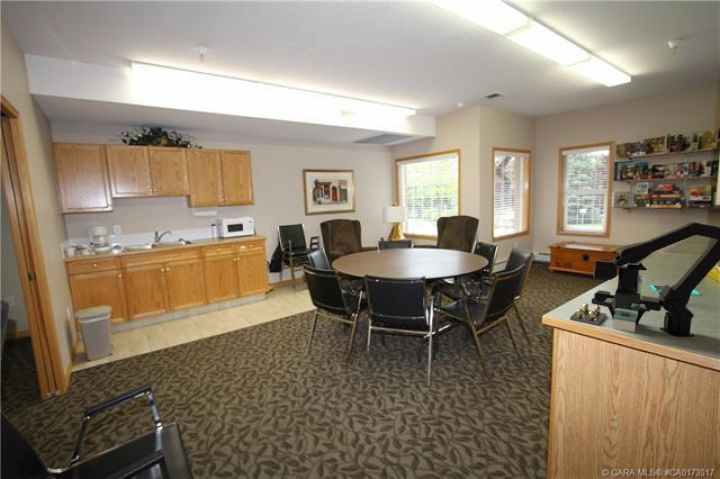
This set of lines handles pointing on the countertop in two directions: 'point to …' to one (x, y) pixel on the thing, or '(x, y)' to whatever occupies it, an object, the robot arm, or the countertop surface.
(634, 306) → the disk drive
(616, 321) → the board
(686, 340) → the countertop surface
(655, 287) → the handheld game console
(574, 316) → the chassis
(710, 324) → the countertop surface
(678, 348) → the countertop surface
